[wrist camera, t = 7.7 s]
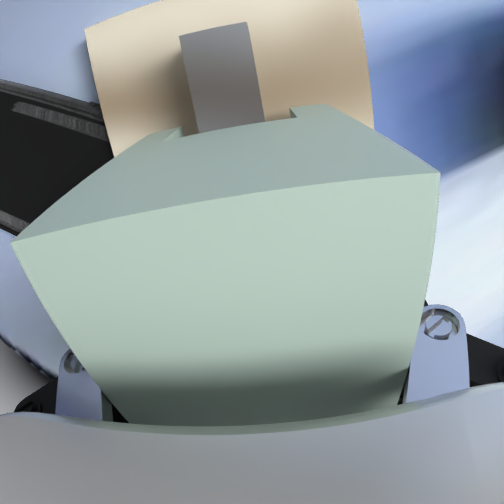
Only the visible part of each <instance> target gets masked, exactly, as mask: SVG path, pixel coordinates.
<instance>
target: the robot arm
mask: <svg viewBox="0 0 504 504" xmlns="http://www.w3.org/2000/svg"><path fill="white" fill-rule="evenodd" d="M0 504H504V348H501V347H499V346H496V345H494V344H491V343H489V342H486V341H484V340H482V339H479V338H477V337H474V336H472V335H469V334H467V333H466V327H465V323H464V320H463V318H462V317H461V315H460V314H459V313H458V312H457V311H455V310H454V309H452V308H450V307H448V306H444V305H439V304H438V305H428V304H427V302H426V300H425V302H424V307H423V312H422V316H421V321H420V325H419V330H418V334H417V338H416V342H415V346H414V350H413V353H412V357H411V361H410V364H409V368H408V371H407V375H406V378H405V381H404V385H403V388H402V391H401V394H400V397H399V400H398V403H397V405H395V406H391V407H386V408H381V409H376V410H371V411H366V412H360V413H354V414H349V415H342V416H336V417H329V418H322V419H314V420H306V421H296V422H286V423H275V424H261V425H244V426H161V425H143V424H130V423H129V422H128V421H127V420H126V419H125V418H124V417H123V415H122V414H121V413H120V412H119V411H118V410H117V408H116V407H115V406H114V405H113V404H112V403H111V401H110V400H109V399H108V398H107V396H106V395H105V394H104V393H103V391H102V390H101V389H100V388H99V386H98V385H97V384H96V383H95V381H94V380H93V379H92V377H91V376H90V375H89V373H88V372H87V371H86V369H85V368H84V367H83V365H82V364H81V363H80V361H79V360H78V358H77V357H76V356H75V354H74V353H73V351H72V350H71V348H70V349H69V350H68V351H67V352H66V353H65V354H64V356H63V357H62V359H61V362H60V367H59V376H58V377H57V378H55V379H54V380H52V381H51V382H49V383H48V384H46V385H45V386H43V387H42V388H40V389H39V390H37V391H36V392H34V393H32V394H31V395H29V396H28V397H26V398H25V399H23V400H22V401H21V402H20V403H19V404H18V405H17V407H16V409H15V411H14V413H6V414H2V415H0Z"/></svg>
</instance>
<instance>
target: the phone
mask: <svg viewBox="0 0 504 504" xmlns="http://www.w3.org/2000/svg"><path fill="white" fill-rule="evenodd" d="M113 158H114V154H113V151H112V147H111V144H110V140H109V137H108V133H107V129H106V125H105V122H104V118H103V114H102V110H101V106H100V104H97V103H94V102H90V103H88V102H85V101H81V100H78V99H75V98H71V97H68V96H64V95H61V94H57V93H53V92H50V91H46V90H42V89H38V88H35V87H31V86H27V85H23V84H19V83H14V82H10V81H6V80H1V79H0V228H1V229H3V230H5V231H7V232H9V233H11V234H13V235H15V236H18V235H19V234H20V233H21V232H22V231H23V230H24V229H25V228H26V227H28V226H29V225H30V224H31V223H32V222H33V221H34V220H35V219H37V218H38V217H39V216H40V215H41V214H42V213H43V212H45V211H46V210H47V209H48V208H49V207H51V206H52V205H53V204H54V203H55V202H57V201H58V200H59V199H60V198H61V197H63V196H64V195H65V194H66V193H68V192H69V191H70V190H71V189H73V188H74V187H75V186H77V185H78V184H79V183H80V182H82V181H83V180H84V179H86V178H87V177H88V176H90V175H91V174H92V173H94V172H95V171H96V170H98V169H99V168H100V167H102V166H103V165H105V164H106V163H107V162H109V161H110V160H112V159H113Z"/></svg>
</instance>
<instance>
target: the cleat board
mask: <svg viewBox="0 0 504 504" xmlns="http://www.w3.org/2000/svg"><path fill="white" fill-rule="evenodd" d="M84 30H85V36H86V41H87V47H88V52H89V57H90V62H91V67H92V71H93V76H94V80H95V85H96V89H97V93H98V98H99V102H100V106H101V110H102V114H103V118H104V122H105V125H106V129H107V133H108V137H109V140H110V144H111V147H112V151H113V154H114V157H116V156H117V155H119V154H120V153H122V152H123V151H125V150H126V149H128V148H129V147H131V146H132V145H134V144H135V143H137V142H138V141H140V140H141V139H143V138H144V137H146V136H147V135H149V134H152V133H156V132H160V131H164V130H168V129H172V128H176V127H181V126H182V129H183V133H184V137H185V136H190V135H194V134H199V133H204V132H209V131H214V130H219V129H225V128H230V127H236V126H242V125H248V124H254V123H260V122H267V121H274V120H281V119H289V118H291V117H290V110H289V107H296V106H305V105H314V104H327V105H329V106H331V107H333V108H335V109H337V110H339V111H341V112H343V113H344V114H346V115H348V116H350V117H352V118H354V119H355V120H357V121H359V122H361V123H363V124H364V125H366V126H368V127H370V128H371V129H373V130H374V120H373V108H372V97H371V88H370V79H369V71H368V63H367V56H366V49H365V42H364V36H363V30H362V24H361V19H360V13H359V8H358V3H357V0H160V1H157V2H154V3H151V4H148V5H145V6H142V7H139V8H136V9H133V10H130V11H127V12H125V13H122V14H119V15H117V16H114V17H112V18H109V19H107V20H104V21H102V22H100V23H97V24H95V25H93V26H90V27H88V28H86V29H84Z"/></svg>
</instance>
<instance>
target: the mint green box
mask: <svg viewBox="0 0 504 504" xmlns="http://www.w3.org/2000/svg"><path fill="white" fill-rule="evenodd" d="M289 110H290V117H291V118H289V119H281V120H274V121H267V122H260V123H254V124H248V125H242V126H236V127H230V128H225V129H219V130H214V131H209V132H204V133H199V134H194V135H190V136H185V137H184V133H183V129H182V126H181V127H176V128H172V129H168V130H164V131H160V132H156V133H152V134H149V135H147V136H146V137H144V138H143V139H141V140H140V141H138V142H137V143H135V144H134V145H132V146H131V147H129V148H128V149H126V150H125V151H123V152H122V153H120V154H119V155H117V156H116V157H114V158H113V159H112V160H110V161H109V162H107V163H106V164H105V165H103V166H102V167H100V168H99V169H98V170H96V171H95V172H94V173H92V174H91V175H90V176H88V177H87V178H86V179H84V180H83V181H82V182H80V183H79V184H78V185H77V186H75V187H74V188H73V189H71V190H70V191H69V192H68V193H66V194H65V195H64V196H63V197H61V198H60V199H59V200H58V201H57V202H55V203H54V204H53V205H52V206H51V207H49V208H48V209H47V210H46V211H45V212H43V213H42V214H41V215H40V216H39V217H38V218H37V219H35V220H34V221H33V222H32V223H31V224H30V225H29V226H28V227H26V228H25V229H24V230H23V231H22V232H21V233H20V234H19V235H18V236H17V237H16V238H14V239H13V240H12V241H11V242H10V244H11V246H12V248H13V250H14V252H15V254H16V256H17V258H18V260H19V262H20V264H21V266H22V268H23V270H24V272H25V274H26V276H27V278H28V280H29V282H30V283H31V285H32V287H33V289H34V291H35V292H36V294H37V296H38V298H39V299H40V301H41V303H42V304H43V306H44V308H45V310H46V311H47V313H48V314H49V316H50V318H51V319H52V321H53V323H54V324H55V326H56V327H57V329H58V330H59V332H60V333H61V335H62V336H63V338H64V339H65V341H66V342H67V344H68V345H69V347H70V348H71V350H72V351H73V353H74V354H75V356H76V357H77V358H78V360H79V361H80V363H81V364H82V365H83V367H84V368H85V369H86V371H87V372H88V373H89V375H90V376H91V377H92V379H93V380H94V381H95V383H96V384H97V385H98V386H99V388H100V389H101V390H102V391H103V393H104V394H105V395H106V396H107V398H108V399H109V400H110V401H111V403H112V404H113V405H114V406H115V407H116V408H117V410H118V411H119V412H120V413H121V414H122V415H123V417H124V418H125V419H126V420H127V421H128V422H129V423H130V424H143V425H161V426H244V425H261V424H275V423H286V422H296V421H306V420H314V419H322V418H329V417H336V416H342V415H349V414H354V413H360V412H366V411H371V410H376V409H381V408H386V407H391V406H395V405H397V403H398V400H399V397H400V394H401V391H402V388H403V385H404V381H405V378H406V375H407V371H408V368H409V364H410V361H411V357H412V353H413V350H414V346H415V342H416V338H417V334H418V330H419V325H420V321H421V316H422V312H423V307H424V302H425V297H426V292H427V287H428V281H429V275H430V269H431V263H432V256H433V249H434V241H435V233H436V224H437V214H438V202H439V188H440V172H439V171H437V170H436V169H435V168H433V167H432V166H430V165H429V164H427V163H426V162H424V161H423V160H421V159H420V158H418V157H417V156H415V155H414V154H412V153H411V152H409V151H408V150H406V149H405V148H403V147H401V146H400V145H398V144H397V143H395V142H393V141H392V140H390V139H388V138H387V137H385V136H383V135H382V134H380V133H378V132H377V131H375V130H373V129H371V128H370V127H368V126H366V125H364V124H363V123H361V122H359V121H357V120H355V119H354V118H352V117H350V116H348V115H346V114H344V113H343V112H341V111H339V110H337V109H335V108H333V107H331V106H329V105H327V104H314V105H305V106H296V107H289Z"/></svg>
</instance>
